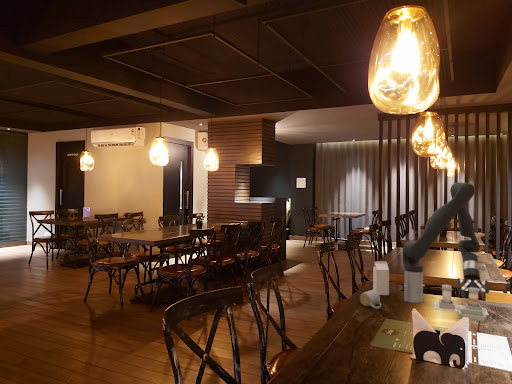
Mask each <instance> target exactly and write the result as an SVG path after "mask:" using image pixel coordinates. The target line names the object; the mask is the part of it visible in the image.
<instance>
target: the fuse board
mask: <svg viewBox="0 0 512 384" xmlns="http://www.w3.org/2000/svg"><path fill="white" fill-rule="evenodd" d="M442 302H443V299H438V302H435V301H434V302H433V309H434V310H442V311H448V312H449V311H451V312H456V313H458V308H462V309H471V310H479V311H484V313H485V315H486V316H490V314H489V312H488V310H487V309H486V307H482V304H481V303H478V307H475V306H468V305H469V301H468V302H464V305H463V304H455V302H454V300H451V303H452V304H448V303H442Z"/></svg>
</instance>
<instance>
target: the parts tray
mask: <svg viewBox="0 0 512 384" xmlns="http://www.w3.org/2000/svg"><path fill="white" fill-rule="evenodd" d="M457 314H458V319H459V320H462V319H461V318H463V317H468V318H469V320H468V321H477V322H483V323H484V322H485V323H487V315H485V313H484V311H479V310H471V309H462V308H458V312H457Z"/></svg>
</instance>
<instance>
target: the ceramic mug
mask: <svg viewBox="0 0 512 384" xmlns="http://www.w3.org/2000/svg"><path fill="white" fill-rule="evenodd" d="M359 301H360V303H361V304H362V306H364V307H371V308H372V309H376V310H378V309H381V308H382V303H381V295H379V294H378V293H377V291H375V290H373V289H371V290H368V291H365V292H362V293H361V294H360V295H359Z"/></svg>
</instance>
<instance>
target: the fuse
mask: <svg viewBox="0 0 512 384" xmlns="http://www.w3.org/2000/svg"><path fill="white" fill-rule="evenodd" d="M452 286H453V285H450V284H442V285H441V290H442V300H443V302H442V303H448V304H452V303H451V301H452V289H453V288H452Z"/></svg>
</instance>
